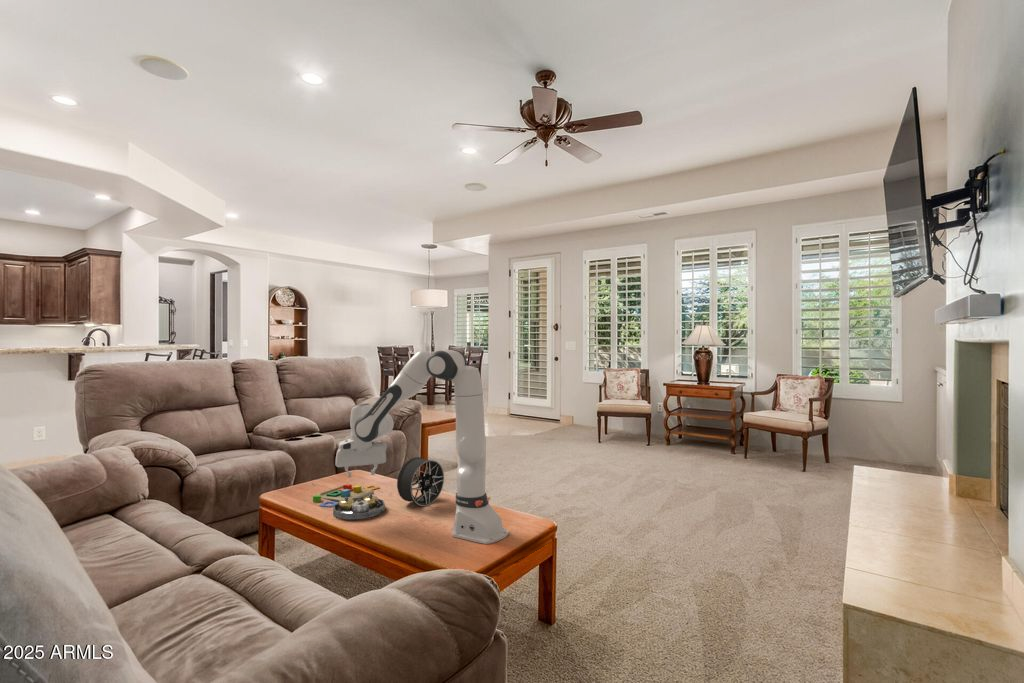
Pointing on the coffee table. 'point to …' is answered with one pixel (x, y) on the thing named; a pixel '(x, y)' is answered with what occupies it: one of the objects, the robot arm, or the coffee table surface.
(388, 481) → the coffee table surface
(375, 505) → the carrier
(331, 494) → the shape sorter
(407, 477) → the wheel rim
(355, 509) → the planet gear
